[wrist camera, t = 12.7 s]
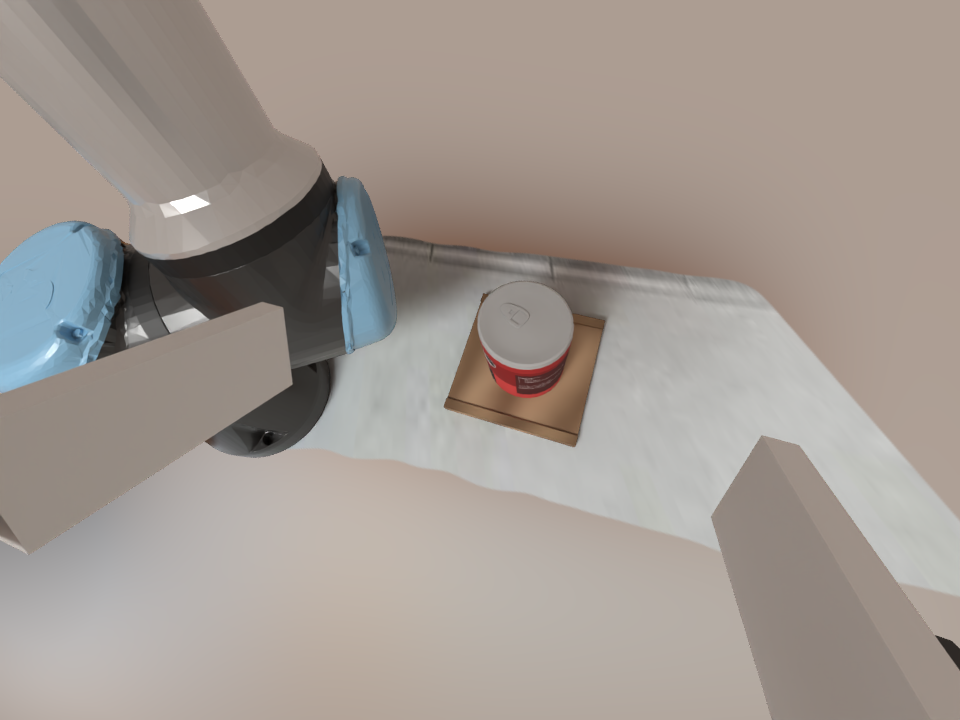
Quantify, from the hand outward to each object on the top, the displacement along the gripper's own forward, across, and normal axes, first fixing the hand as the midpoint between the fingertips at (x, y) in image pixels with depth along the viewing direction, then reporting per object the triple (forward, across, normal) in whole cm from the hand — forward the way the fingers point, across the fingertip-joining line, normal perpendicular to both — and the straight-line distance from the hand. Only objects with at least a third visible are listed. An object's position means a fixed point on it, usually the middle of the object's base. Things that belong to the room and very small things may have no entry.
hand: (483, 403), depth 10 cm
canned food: (+28, -2, -13) cm, 30 cm away
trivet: (+28, -2, -13) cm, 31 cm away
